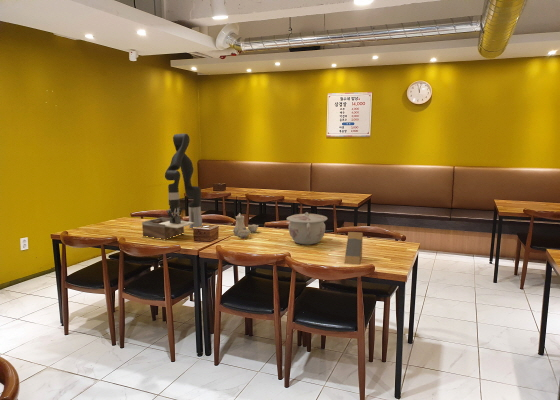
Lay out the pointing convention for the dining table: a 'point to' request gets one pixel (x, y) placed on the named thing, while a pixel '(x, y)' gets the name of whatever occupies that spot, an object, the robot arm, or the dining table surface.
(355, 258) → the sandwich container
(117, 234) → the dining table surface
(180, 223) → the lid
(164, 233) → the box
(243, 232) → the chinaware
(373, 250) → the dining table surface
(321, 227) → the chamber pot
